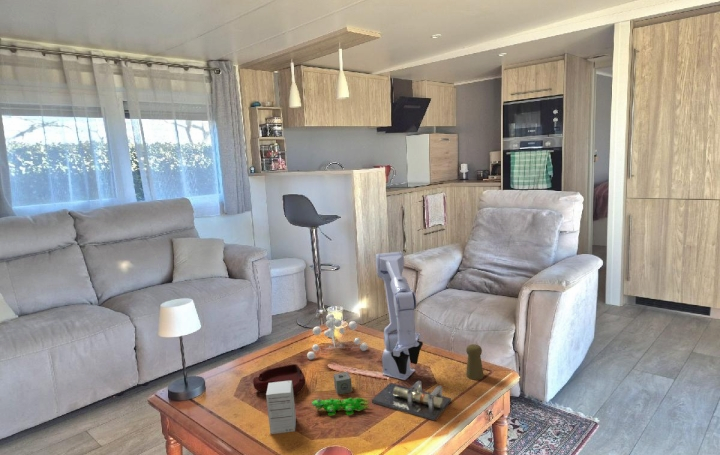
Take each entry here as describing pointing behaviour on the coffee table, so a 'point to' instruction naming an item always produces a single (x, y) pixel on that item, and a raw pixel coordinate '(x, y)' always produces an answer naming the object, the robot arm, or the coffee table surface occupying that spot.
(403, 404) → the collar base
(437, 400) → the brass tube
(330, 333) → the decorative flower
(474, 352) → the cork
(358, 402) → the green bumpy long piece
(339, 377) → the dice cube
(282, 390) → the supplement box
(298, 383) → the ashtray
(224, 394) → the coffee table surface
